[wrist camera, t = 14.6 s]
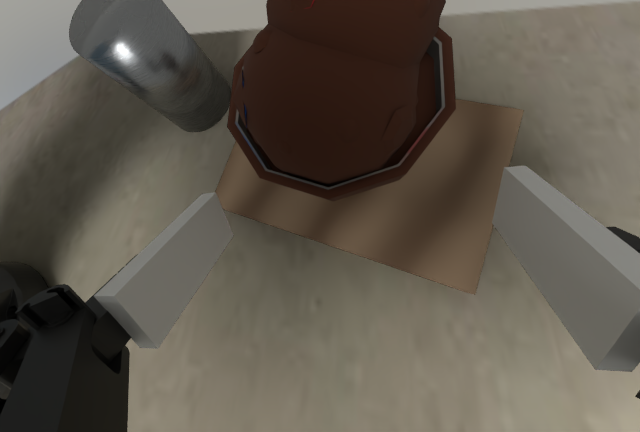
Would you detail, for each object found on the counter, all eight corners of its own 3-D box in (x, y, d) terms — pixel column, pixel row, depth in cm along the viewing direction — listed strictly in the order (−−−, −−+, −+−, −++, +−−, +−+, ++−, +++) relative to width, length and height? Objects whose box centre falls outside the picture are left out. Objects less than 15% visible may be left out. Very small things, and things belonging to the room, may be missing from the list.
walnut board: (219, 208, 25) (210, 204, 24) (271, 78, 27) (265, 67, 25) (467, 292, 19) (475, 294, 18) (513, 121, 21) (523, 110, 20)
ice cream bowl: (311, 93, 24) (209, -182, 9) (441, 119, 21) (585, -224, 6) (268, 203, 22) (72, 83, 8) (399, 247, 19) (459, 183, 5)
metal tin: (162, 124, 29) (54, 51, 19) (187, 68, 29) (95, -30, 20) (215, 138, 27) (124, 64, 17) (240, 77, 28) (167, -25, 18)
